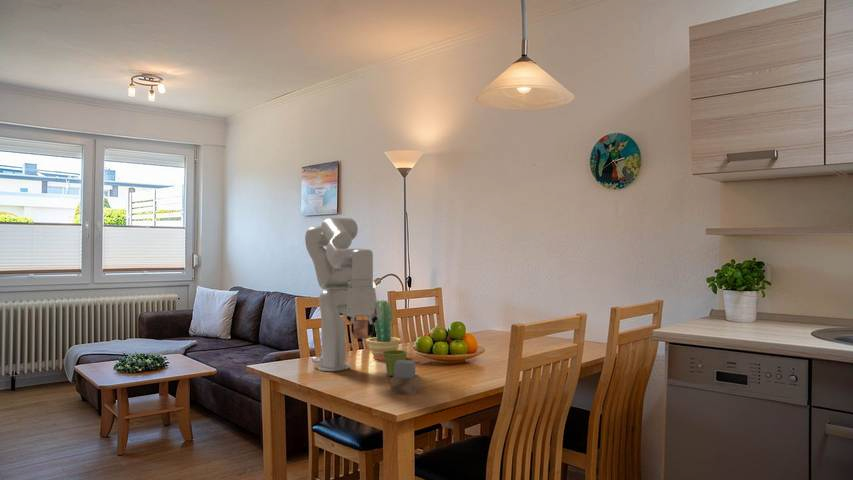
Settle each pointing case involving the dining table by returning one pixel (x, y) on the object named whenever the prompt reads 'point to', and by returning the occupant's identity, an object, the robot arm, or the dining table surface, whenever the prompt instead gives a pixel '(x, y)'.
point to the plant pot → (393, 359)
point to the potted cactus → (383, 333)
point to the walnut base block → (404, 385)
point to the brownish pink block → (361, 329)
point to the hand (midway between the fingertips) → (362, 334)
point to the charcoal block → (404, 369)
